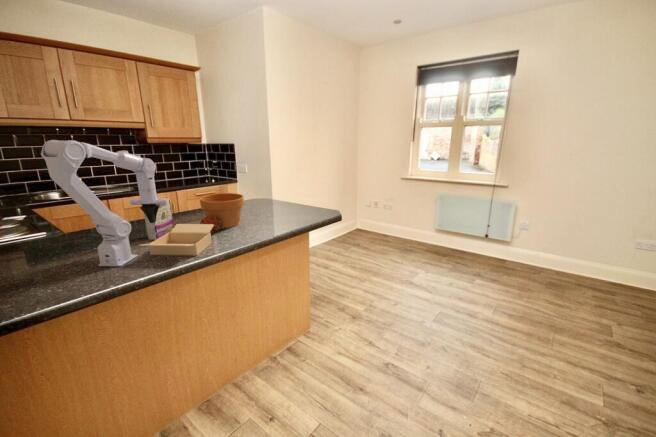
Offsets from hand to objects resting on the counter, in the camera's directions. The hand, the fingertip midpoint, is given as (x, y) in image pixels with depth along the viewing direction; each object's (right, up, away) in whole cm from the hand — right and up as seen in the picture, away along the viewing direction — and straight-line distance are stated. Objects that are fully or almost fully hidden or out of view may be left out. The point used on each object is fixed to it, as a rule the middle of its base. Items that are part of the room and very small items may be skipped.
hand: (152, 222), depth 116 cm
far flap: (+12, -3, +9) cm, 15 cm away
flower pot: (+17, -2, +33) cm, 38 cm away
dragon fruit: (+15, -5, +21) cm, 26 cm away
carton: (+12, -11, +1) cm, 16 cm away
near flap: (+12, -8, -11) cm, 18 cm away
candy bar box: (-5, -7, +15) cm, 17 cm away
